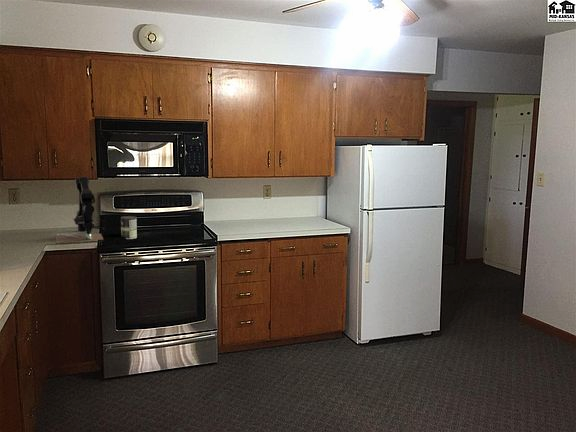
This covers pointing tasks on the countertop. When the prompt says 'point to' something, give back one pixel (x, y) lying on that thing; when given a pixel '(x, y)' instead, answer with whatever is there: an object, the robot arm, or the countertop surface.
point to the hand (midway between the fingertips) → (88, 235)
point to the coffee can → (129, 227)
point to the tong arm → (88, 236)
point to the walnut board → (63, 239)
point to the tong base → (71, 234)
